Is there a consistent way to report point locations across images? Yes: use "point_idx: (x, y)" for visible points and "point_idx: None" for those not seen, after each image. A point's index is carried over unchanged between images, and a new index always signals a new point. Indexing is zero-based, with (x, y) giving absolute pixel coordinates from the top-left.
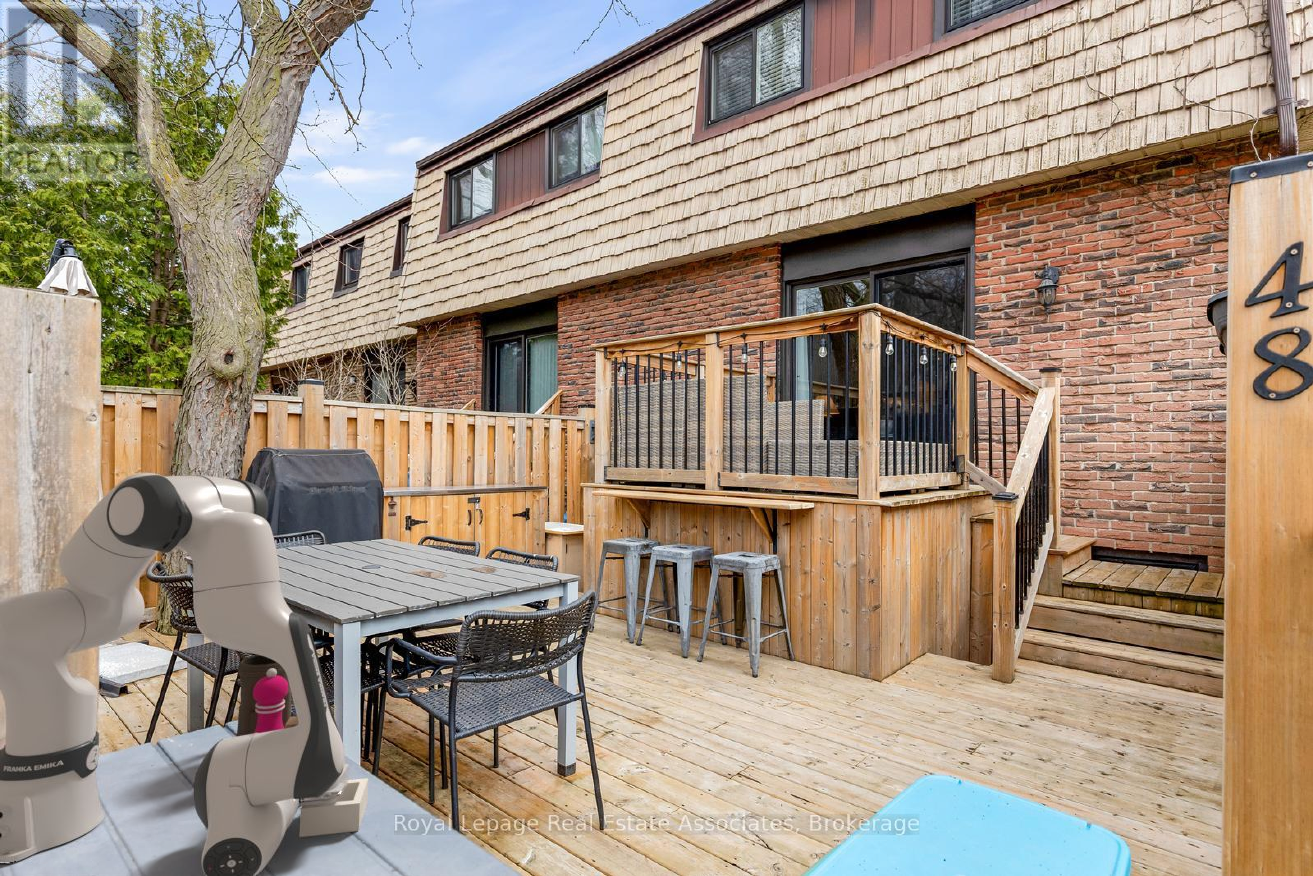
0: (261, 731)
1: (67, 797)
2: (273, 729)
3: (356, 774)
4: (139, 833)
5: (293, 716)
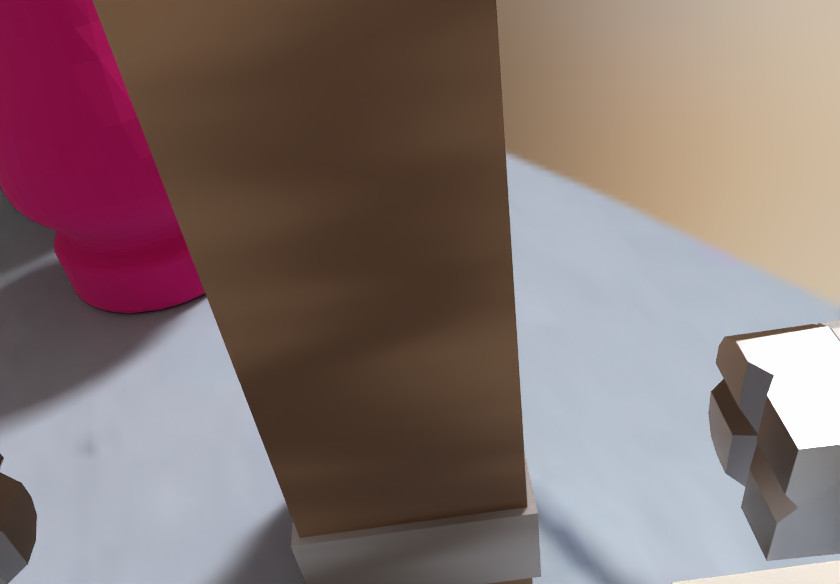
0: (5, 28)
1: None
2: (83, 7)
3: (695, 257)
4: None
5: None
